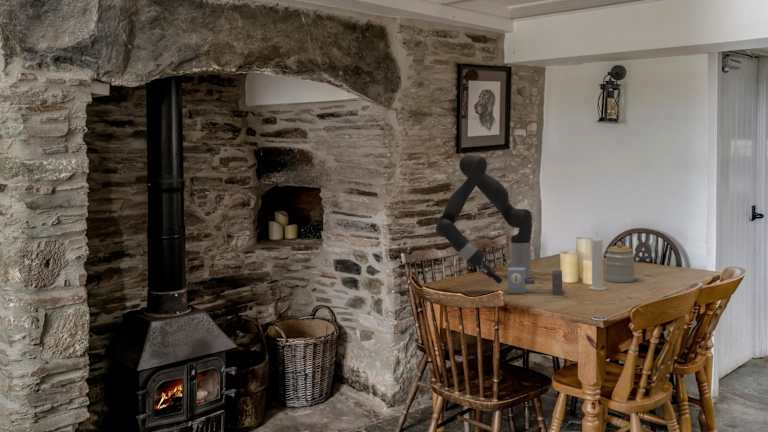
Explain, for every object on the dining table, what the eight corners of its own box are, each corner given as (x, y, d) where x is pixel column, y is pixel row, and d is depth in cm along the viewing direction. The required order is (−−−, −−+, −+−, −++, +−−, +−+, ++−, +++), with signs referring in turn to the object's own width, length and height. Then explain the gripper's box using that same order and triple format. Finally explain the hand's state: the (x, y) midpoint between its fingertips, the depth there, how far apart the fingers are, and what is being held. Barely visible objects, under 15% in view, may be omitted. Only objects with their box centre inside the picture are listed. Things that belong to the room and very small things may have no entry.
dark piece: (499, 291, 319) (498, 269, 318) (564, 291, 312) (564, 269, 311) (497, 297, 307) (496, 274, 306) (564, 297, 300) (564, 274, 299)
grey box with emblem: (509, 290, 315) (508, 267, 314) (534, 290, 312) (534, 267, 311) (508, 293, 308) (507, 270, 307) (534, 293, 306) (533, 270, 305)
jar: (636, 283, 325) (636, 244, 323) (606, 283, 327) (606, 244, 325) (633, 277, 337) (632, 240, 335) (604, 277, 340) (603, 240, 338)
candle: (594, 291, 311) (594, 233, 309) (586, 288, 318) (585, 231, 315) (609, 289, 313) (608, 232, 311) (600, 286, 320) (599, 230, 317)
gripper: (475, 250, 307) (505, 279, 305) (479, 245, 319) (507, 273, 318) (463, 262, 308) (493, 291, 307) (467, 257, 321) (496, 285, 319)
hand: (500, 282), depth 312 cm, fingers closed
